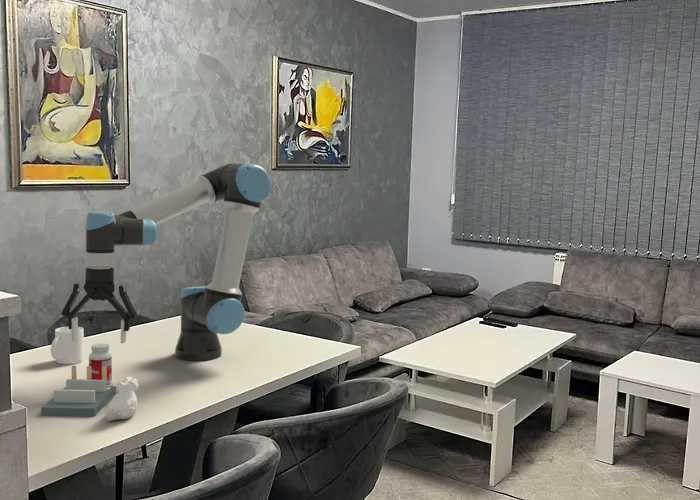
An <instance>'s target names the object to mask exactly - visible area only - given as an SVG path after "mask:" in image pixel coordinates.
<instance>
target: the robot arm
mask: <svg viewBox="0 0 700 500" xmlns="http://www.w3.org/2000/svg"><path fill="white" fill-rule="evenodd" d="M271 189H272V182H271V178H270V176H269V174H268V172H267V171H266V169H265V168H263V167H262V166H260V165H258V164H254V163H250V162H249V163H247V162H246V163H227V164H224V165H221V166H219V167H216V168H215V169H212V170H210V171H208V172H207V173H205V174H201V175H199V176H198V177H197V180H196V181H194V182H192V183H188V184H187V185H183V186H182V187H180V188H177V189H175V190H173V191H171V192H168V193H166V194H163V195H162V196H159V197H157V198H154V199H151V200H150V201H147V202H145V203H142V204H140V205H138V206H136V207H134V208H131V209H129V210H127V211H124V212H122V213H120V214H115V213H114V212H112V211H111V212H110V211H90V212H88V213H86V219H85V227H84V228H85V266H86V268H85V277H84V278H85V283H80V282H76V283H74V284H73V288H72V291H71V294H70V296H69V298H68V300H67V302H66V304H65V306H64V307H63V309H62V311H61V316H63V317H67V321H68V322H67V323H68V325H67V327H68V328H69V329H72V342H75V341H76V340H78V327H79V326H78V325H79V323H78V322H79V318H78V317H79V316H76V315H77V314H78V313H79V312H80V311H81V310H82V309H83V308H84V306H85V305H87V303H88V302H89V301H90V300H92V301H98V300H99V301H108V303H110V305H111V306H112V307H113V308H114V309H115V311H116V312H117V313H118V315H120V316H121V318H122V319H121V320H120V344H125V343H126V342H127V332H129V331H130V330H131V329H130V326H131V325H130V324H131V320H132V319H134V318H135V317H137V314H138V313H137V312H136V310H135V308H134V306H133V303H132V301H131V300H130V297H129V296H128V293H127V290H126V289H127V288H126V284H124V283H123V284H121V285H119V284H118V285H115V269H114V266H115V246H119V247H120V246H147V245H148V246H149V245H153V244H154V243H155V242H156V240H157V237H158V229H157V225H160V224H161V223H164V222H166V221H168V220H171V219H172V218H175V217H177V216H179V215H182V214H184V213H186V212H188V211H190V210H193V209H195V208H197V207H199V206H201V205H204V204H206V203H209V204H214V203H216V202H219V201H222V200H223V201H222V202H223V204H224V206H225V207H226V212H225V215H224V220H223V226H222V231H221V235H220V240H219V246H218V249H217V255H216V260H215V265H214V269H213V275H212V280H211V282H210V283H208V285H204V286H203V285H201V286H192V287H191V286H190V287H189V286H188V287H184V288H183V289H181V295H180V333H179V337H178V339H177V343H176V345H175V349H174V352H175V353H174V355H175V356H174V357H175V358H178V359H181V360H184V361H185V360H186V361H209V360H214V359H217V358H219V357H222V354H223V353H222V352H223V351H222V350H223V349H222V344H221V342H220V338H219V336H218V334H219V335H228V334H231V333H234V332H235V331H236V330H238V329H239V328H240V326H241V325H242V323H243V321H244V319H245V316H246V315H245V313H246V312H245V308H244V306H243V304H242V302H241V301H242V296H243V293H242V291H241V289H240V282H241V278H242V277H241V276H242V273H243V268H244V262H245V258H246V254H247V249H248V244H249V239H250V233H251V228H252V224H253V223H252V222H253V219H254V215H255V214H256V213H257V212H258V211H259V210H260V209H261V205H262V201H264V200H265V199H266V198H267V197H268V196H269V195H270V193H271ZM82 290H84V291H85V292H86V294H85V296H83V298H82V299H81V300H80V301H79V303H78V304H77V305H75V306H74V304H75V301H76V299H77V298H78V296H79V294H80V292H81V291H82ZM115 291H116V292H117V293H118V295H119V296H120V299H121V301H122V303H123V305H124V306H123V305H122V304H121V302H120V301H119V300H118V299H117V297H116V296H115V295H114V292H115ZM73 306H74V307H73ZM124 307H125V308H126V309H125V308H124ZM72 308H73V309H72ZM71 309H72V310H71Z"/></svg>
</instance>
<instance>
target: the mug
mask: <svg viewBox="0 0 700 500" xmlns="http://www.w3.org/2000/svg"><path fill="white" fill-rule="evenodd" d="M54 335H55V336H54V339H53V340H52V343H51V344H50V353H51V355H50V356H51V357H52V359H53V360H55V362H56V363H57V364H59V365H67V366H68V365H75V364H80V363H81V362H83V361H84V357H85V356H84V355H85V354H84V352H85V349H84V348H85V347H84V345H85V344H84V342H85V341H84V339H85V338H84V337H85V336H84V327H82V326H78V340H76V341H75V342H72V329H69V328H68V326H62V327H58V328H55V329H54Z"/></svg>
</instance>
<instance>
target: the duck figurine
mask: <svg viewBox="0 0 700 500" xmlns="http://www.w3.org/2000/svg"><path fill="white" fill-rule="evenodd" d="M138 381H139V380H138V379H136V378H135V377H132V376H126V377H124V378H123V379H122V380H121V381H119V382H118V383H116V385H115V386H116V389H117V390H118V393H116V394H115V395H114V396H113V397H112V399H111V400H110V401H109V402H108V403H107V404H108V405H107V406H106V409H105V412H104V413H105V414H104V415H105V416H104V417H105V421H107V422H112V421H116V420H117V421H118V420H124V419H125V420H127V419H129V418H131V417H132V416H133V415H134V414H135V413H136V411H137V409H138V399H137V398H138V397H137V394H136V393H135V392H136V391H137V390H138V389H139V382H138Z"/></svg>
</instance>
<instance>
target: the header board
mask: <svg viewBox="0 0 700 500" xmlns="http://www.w3.org/2000/svg"><path fill="white" fill-rule="evenodd" d="M65 382H66V383H65V387H64V388H61V389H60V388H59V389H58V388H56V389H54V390H53V397H51V399H49V400H48V401H47V402H45V404H43V405H42V406H41V408H40V413H41V416H61V417H62V416H65V417H66V416H67V417H72V416H73V417H96V416H97V415H98V414H99V413H100V411H101V410H102V409H103V408H105V406H106V405H107V404H109V403H110V402H111V400H112V399H113V397H114V396H115V395H116V394H117V387H116V385H115V386H114V385H110V386H109V385H107V367H106V366H103V367H102V380H92V375H91V366H89V365H87V366H86V379H82V378H80V379H78V378H77V365H71V378H66V380H65Z"/></svg>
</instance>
